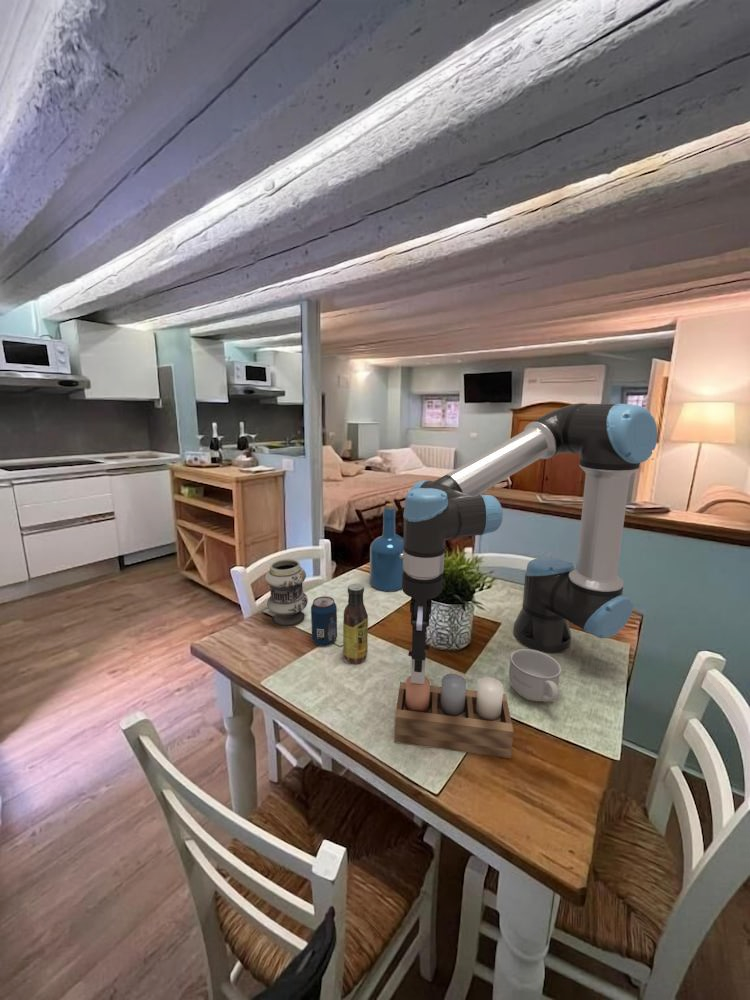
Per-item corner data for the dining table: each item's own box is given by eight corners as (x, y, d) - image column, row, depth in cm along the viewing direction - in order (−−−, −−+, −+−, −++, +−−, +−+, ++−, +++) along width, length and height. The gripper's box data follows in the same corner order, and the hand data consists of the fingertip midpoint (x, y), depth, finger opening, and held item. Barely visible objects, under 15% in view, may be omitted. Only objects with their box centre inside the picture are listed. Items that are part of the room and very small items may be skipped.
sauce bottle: (361, 667, 102) (362, 595, 97) (339, 662, 104) (338, 591, 99) (371, 652, 108) (371, 584, 103) (349, 647, 110) (349, 580, 105)
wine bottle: (394, 596, 138) (396, 511, 131) (362, 586, 145) (362, 505, 138) (413, 581, 149) (416, 502, 142) (382, 573, 156) (383, 497, 149)
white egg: (499, 704, 82) (501, 678, 81) (502, 722, 78) (505, 695, 76) (474, 701, 83) (476, 675, 82) (476, 719, 79) (478, 692, 77)
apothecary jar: (280, 606, 131) (277, 554, 127) (314, 612, 128) (313, 558, 123) (260, 626, 120) (256, 569, 115) (297, 632, 117) (294, 574, 112)
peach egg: (429, 700, 85) (430, 675, 83) (428, 717, 80) (429, 691, 79) (406, 697, 86) (407, 672, 84) (404, 714, 81) (405, 688, 80)
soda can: (317, 632, 117) (315, 594, 114) (340, 635, 116) (339, 596, 113) (308, 646, 110) (306, 606, 107) (332, 649, 109) (332, 609, 106)
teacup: (502, 675, 99) (504, 646, 97) (546, 676, 99) (550, 647, 97) (519, 719, 86) (523, 686, 84) (571, 720, 86) (576, 688, 84)
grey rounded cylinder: (463, 699, 84) (465, 674, 82) (465, 717, 79) (467, 691, 77) (440, 697, 84) (441, 672, 83) (440, 714, 80) (441, 688, 78)
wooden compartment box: (503, 718, 86) (505, 694, 85) (510, 758, 76) (513, 731, 75) (399, 705, 89) (400, 681, 88) (394, 742, 80) (395, 716, 78)
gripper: (405, 557, 82) (402, 659, 88) (398, 585, 70) (395, 702, 76) (442, 560, 81) (436, 663, 87) (443, 589, 69) (436, 707, 75)
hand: (417, 681), depth 81 cm, fingers closed
